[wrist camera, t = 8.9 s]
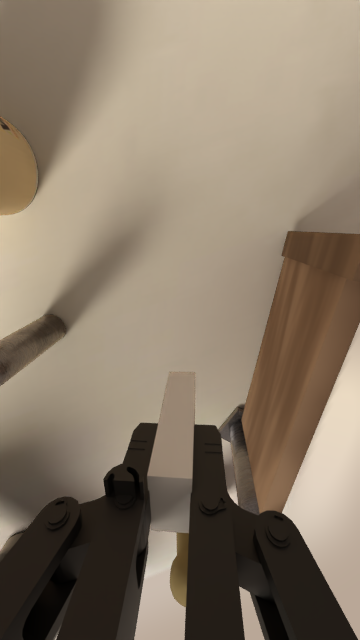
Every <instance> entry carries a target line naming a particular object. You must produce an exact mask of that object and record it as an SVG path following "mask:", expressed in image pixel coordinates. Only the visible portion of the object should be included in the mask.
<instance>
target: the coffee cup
mask: <svg viewBox="0 0 360 640" xmlns="http://www.w3.org/2000/svg"><path fill="white" fill-rule="evenodd" d="M37 186H38V168H37V163H36V159H35V156H34V153H33V151H32V149H31V147H30V145H29V144H28V142H27V140H26V139H25V137H24V136H23V135H22V134H21V133H20V132H19V131H18V130H17V129H16V128H15V127H14V126H13V125H12V124H10V123H9V122H8V121H6V120H5V119H3V118H2V117H1V116H0V215H10V214H15V213H18V212H20V211H22V210H24V209H25V208H26V207H27V206H28V205H29V204H30V203H31V202H32V200H33V198H34V196H35V194H36V191H37Z"/></svg>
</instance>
